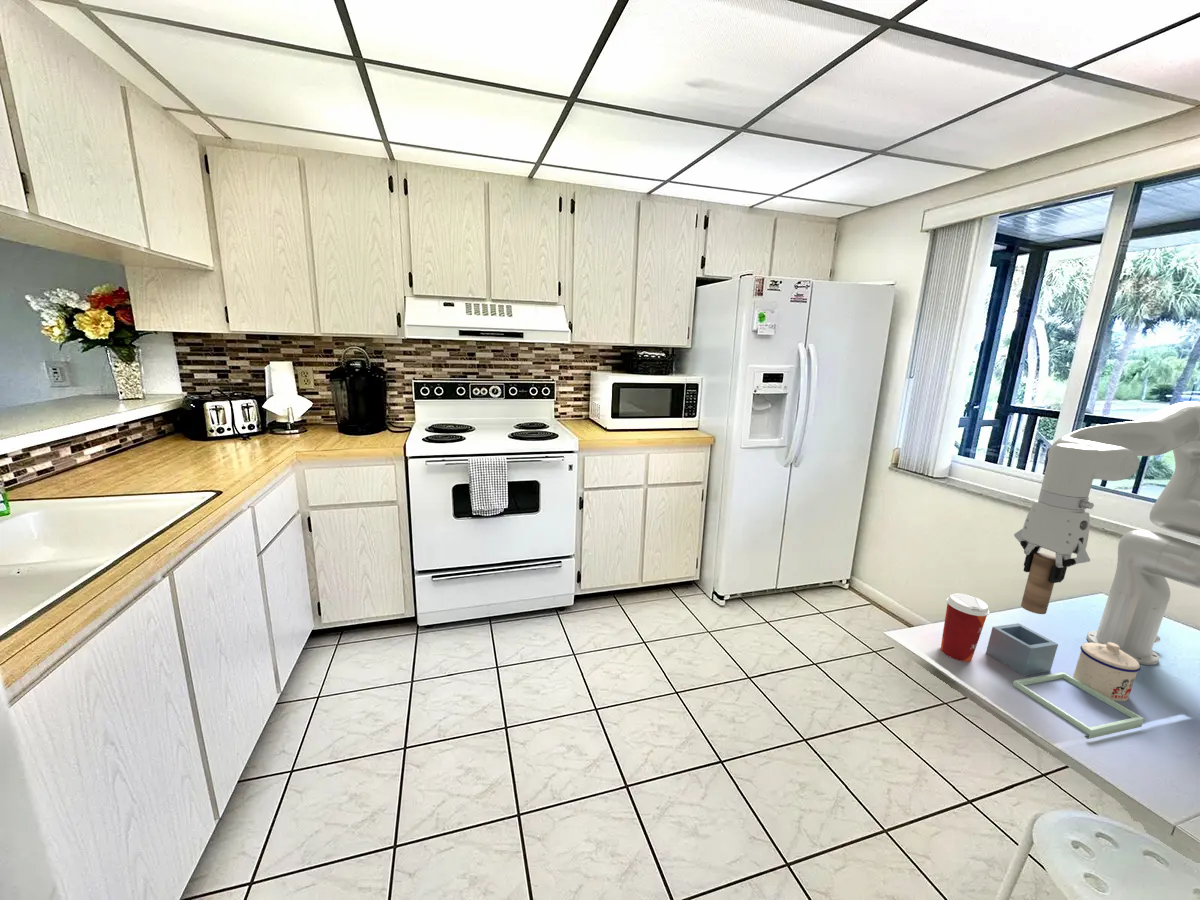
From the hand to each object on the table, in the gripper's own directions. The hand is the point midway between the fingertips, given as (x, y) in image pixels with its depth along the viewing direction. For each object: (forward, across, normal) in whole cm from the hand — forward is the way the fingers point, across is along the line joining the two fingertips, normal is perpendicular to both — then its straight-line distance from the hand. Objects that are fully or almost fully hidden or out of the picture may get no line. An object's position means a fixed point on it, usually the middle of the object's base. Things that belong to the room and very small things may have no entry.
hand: (1042, 575), depth 108 cm
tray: (+23, -13, +3) cm, 27 cm away
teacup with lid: (+24, -10, -10) cm, 28 cm away
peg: (+8, 0, 0) cm, 8 cm away
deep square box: (+23, 0, +1) cm, 23 cm away
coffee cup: (+23, +6, +13) cm, 27 cm away
